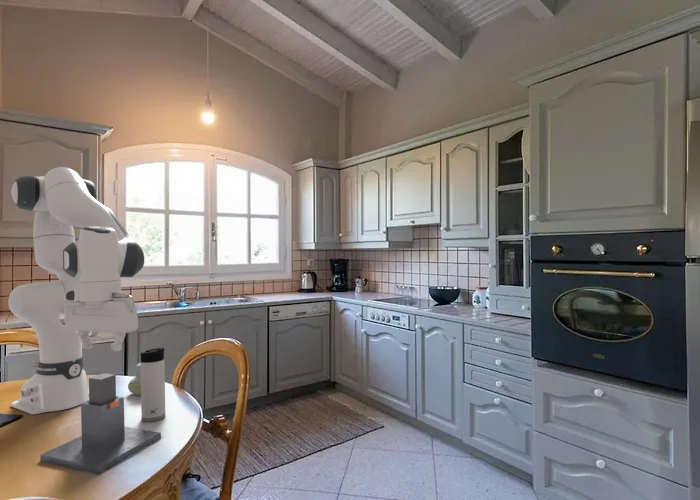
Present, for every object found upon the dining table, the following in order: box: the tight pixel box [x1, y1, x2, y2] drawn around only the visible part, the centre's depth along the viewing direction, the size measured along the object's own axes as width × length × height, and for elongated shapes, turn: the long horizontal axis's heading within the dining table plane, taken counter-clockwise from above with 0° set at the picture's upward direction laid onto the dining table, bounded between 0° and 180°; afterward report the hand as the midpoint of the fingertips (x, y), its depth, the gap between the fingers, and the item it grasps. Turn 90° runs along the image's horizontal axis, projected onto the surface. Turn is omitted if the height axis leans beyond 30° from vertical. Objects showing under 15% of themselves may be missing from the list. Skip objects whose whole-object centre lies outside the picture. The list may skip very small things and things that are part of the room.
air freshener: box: [127, 362, 141, 397], centre depth 144 cm, size 11×8×10 cm
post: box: [88, 372, 117, 405], centre depth 104 cm, size 4×4×16 cm
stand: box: [39, 395, 162, 475], centre depth 104 cm, size 18×18×12 cm
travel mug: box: [139, 347, 166, 423], centre depth 123 cm, size 6×7×20 cm
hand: (101, 349), depth 103 cm, fingers open, 8 cm apart
